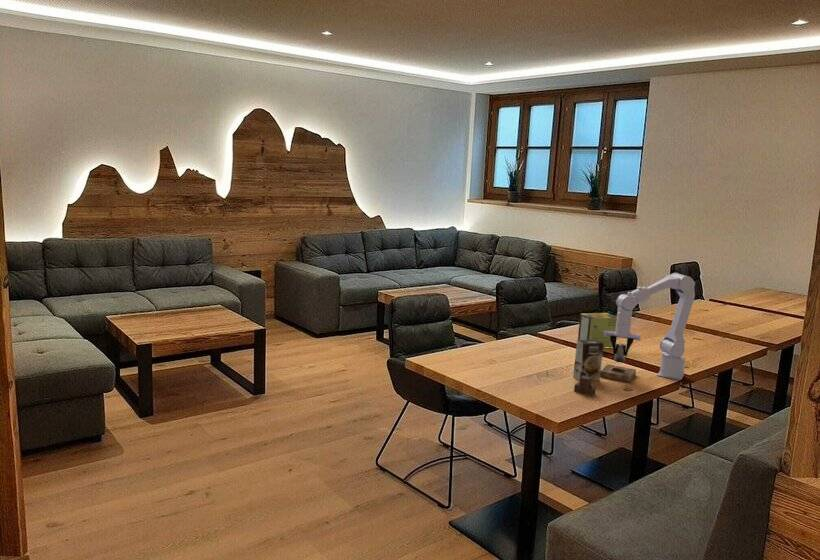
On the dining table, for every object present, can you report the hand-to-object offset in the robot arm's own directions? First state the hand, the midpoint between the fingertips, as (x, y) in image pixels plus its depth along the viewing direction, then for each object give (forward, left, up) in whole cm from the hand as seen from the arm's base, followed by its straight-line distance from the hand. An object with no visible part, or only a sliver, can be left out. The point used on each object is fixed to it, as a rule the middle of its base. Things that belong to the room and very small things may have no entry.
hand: (620, 354), depth 268 cm
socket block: (0, 0, -9) cm, 9 cm away
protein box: (+20, -42, -10) cm, 47 cm away
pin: (0, 0, -3) cm, 3 cm away
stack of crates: (+6, +28, -10) cm, 31 cm away
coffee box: (+10, +12, -10) cm, 18 cm away
